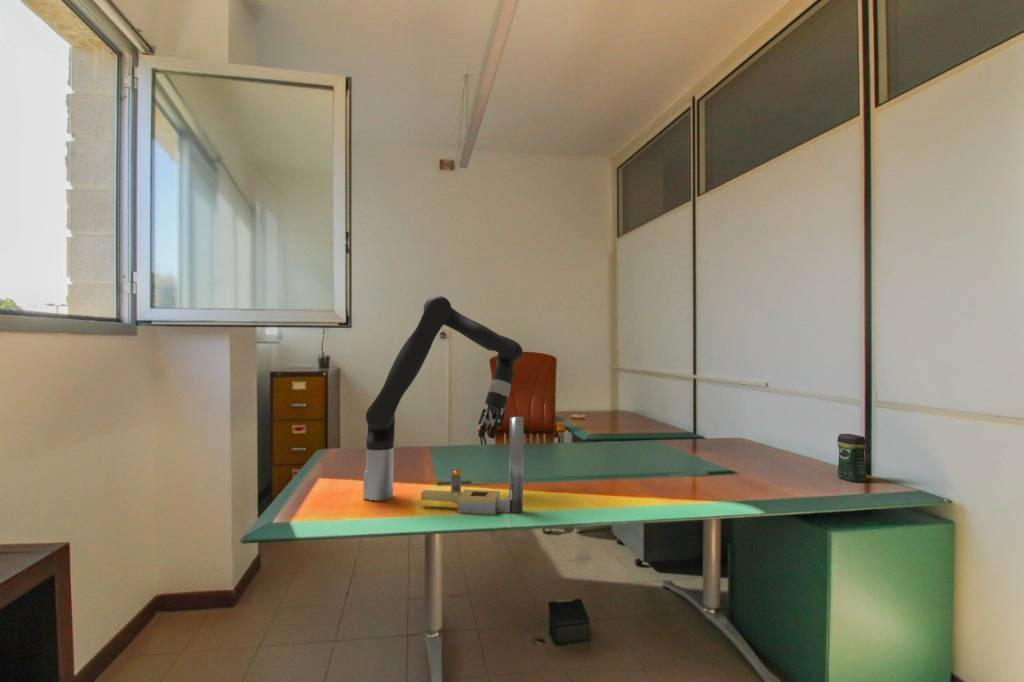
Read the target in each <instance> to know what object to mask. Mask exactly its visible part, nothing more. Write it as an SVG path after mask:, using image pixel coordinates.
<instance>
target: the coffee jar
mask: <svg viewBox="0 0 1024 682" xmlns="http://www.w3.org/2000/svg"><path fill="white" fill-rule="evenodd" d="M837 447H838V464H837V477H838V478H839V479H841V480H844V481H848V482H856V483H864V482H867V480H868V479H867V468H866V456H865V454H866V452H865V451H866V448H867V441H866V437H865V436H863V435H858V434H853V433H839V435H838V436H837Z"/></svg>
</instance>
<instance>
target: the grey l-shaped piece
mask: <svg viewBox="0 0 1024 682" xmlns="http://www.w3.org/2000/svg"><path fill="white" fill-rule="evenodd" d="M508 455H509V457H508V458H509V462H508V463H509V464H508V465H509V469H508V471H509V473H508V476H509V477H508V479H509V481H508V483H509V485H508V493H509V494H508V495H509V496H508V498H507V497H506V498H504V497H501V491H500V490H484V489H463V490H462V491H461V492H455V491H451V490H434V489H433V490H432V489H431V490H430V489H429V490H428V489H423V491H421V493H420V500H421V501H432V502H433V501H434V502H452V503H453V502H455V503H457V514H467V513H470V514H469V515H471V513H473V514H472V515H488V516H495V515H496V514H497V513H507V514H509V513H510V514H514V515H515V514H516V515H517V514H522V513H523V512H524V511H523V510H524V506H523V505H524V417H523V416H510V417H509V453H508Z"/></svg>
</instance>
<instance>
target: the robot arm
mask: <svg viewBox="0 0 1024 682" xmlns="http://www.w3.org/2000/svg"><path fill="white" fill-rule="evenodd" d="M443 326H446V327H449V328H450V329H452V330H454V331H456V332H457V333H459V334H461V335H463V336H464V337H466V338H467V339H468V340H470V341H472V342H474V343H475V344H477V345H478V346H480V347H482V348H484V349H485V350H487V351H493V352H497V355H496V364H495V370H494V374H493V377H492V381H491V383H490V385H489V388H488V392H487V395H486V399H485V403H484V404H485V405H487V409H486V408H482V411H481V414H480V417H479V419H478V425H479V426H480V427H479V430H478V434H477V436H478V437H479V438H482V439H484V438H485V435H486V432H487V429H488V426H489V425H490V424H491V426H490V429H489V433H488V435H487V436H488V438H489V439H495V438H496V435H497V431H498V429H499V428H500V427H502V426H503V421H504V418H505V415H506V410H505V409H506V406H507V402H508V400H509V395H510V392H511V387H512V383H513V379H514V374H515V371H514V369H513V366H514V362H516V361H518V360H519V359H520V358H521V357H522V356H523V353H524V352H523V351H524V350H523V348H522V346H521V345H520V344H519V342H517V341H516V340H513V339H511V338H509V337H506V336H504V335H501V334H498V333H497V332H496V331H494V330H492V329H490V328H489V327H487V326H486V325H483V324H482V323H480V322H477V321H475V320H473V319H470V318H468V317H467V316H465V315H463V314H461V313H460V312H458V311H457V310H456V309H454V308H453V307H452V305H451V302H450V301H449V299H448V298H446V297H445V296H441V295H435V296H432V297H430V298H428V299H426V301H425V303H424V304H423V313H422V316H421V318H420V320H419V322H418V324H417V326H416V328H415V329H414V330H413V332H412V333H411V335H410V336H409V337H408V338H407V339H406V341H405V343H404V344H403V346H401V349H400V350H399V352H398V354H397V355H396V357H395V359H394V361H393V363H392V364H391V365H392V366H391V368H390V370H389V372H388V374H387V377H386V379H385V382H384V384H383V386H382V387H381V389H380V391H379V393H378V394H377V396H376V397H375V399H374V400H373V402H372V403H371V405H370V406H369V407H368V408H367V411H366V412H365V413H366V414H365V420H366V424H367V435H366V436H367V437H366V441H365V442H366V444H365V447H366V451H365V452H366V453H365V454H366V459H365V460H366V461H365V462H366V464H365V470H364V471H363V487H362V488H363V489H362V490H363V495H362V497H363V498H365V499H364V500H367V499H369V500H368V501H372V500H374V501H375V502H378V501H386V500H391V499H392V498H393V497H394V452H395V451H394V449H395V448H394V446H395V445H394V444H395V423H396V422H395V419H396V417H395V415H396V411H397V408H398V406H399V403H400V402H401V400H402V398H403V396H404V394H405V393H406V392H407V391H408V389H409V387H410V386H411V385H412V383H413V382H414V380H415V379H416V378H417V376H418V374H419V373H420V370H421V368H422V366H423V364H424V363H425V360H426V359H427V357H428V354H429V353H430V351H431V349H432V346H433V342H434V341H435V339H436V337H437V335H438V334H439V332H440V330H441V329H442V327H443ZM374 501H373V502H374Z"/></svg>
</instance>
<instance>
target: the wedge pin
mask: <svg viewBox="0 0 1024 682" xmlns="http://www.w3.org/2000/svg"><path fill="white" fill-rule="evenodd" d="M450 476H451V478H450V479H451V481H450V491H455V492H462V470H461V469H451V470H450Z"/></svg>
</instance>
